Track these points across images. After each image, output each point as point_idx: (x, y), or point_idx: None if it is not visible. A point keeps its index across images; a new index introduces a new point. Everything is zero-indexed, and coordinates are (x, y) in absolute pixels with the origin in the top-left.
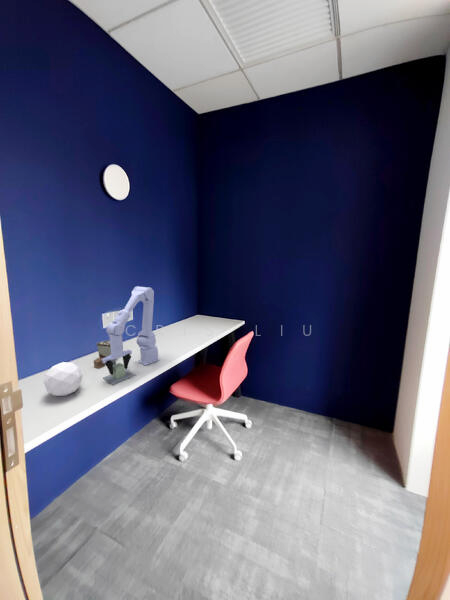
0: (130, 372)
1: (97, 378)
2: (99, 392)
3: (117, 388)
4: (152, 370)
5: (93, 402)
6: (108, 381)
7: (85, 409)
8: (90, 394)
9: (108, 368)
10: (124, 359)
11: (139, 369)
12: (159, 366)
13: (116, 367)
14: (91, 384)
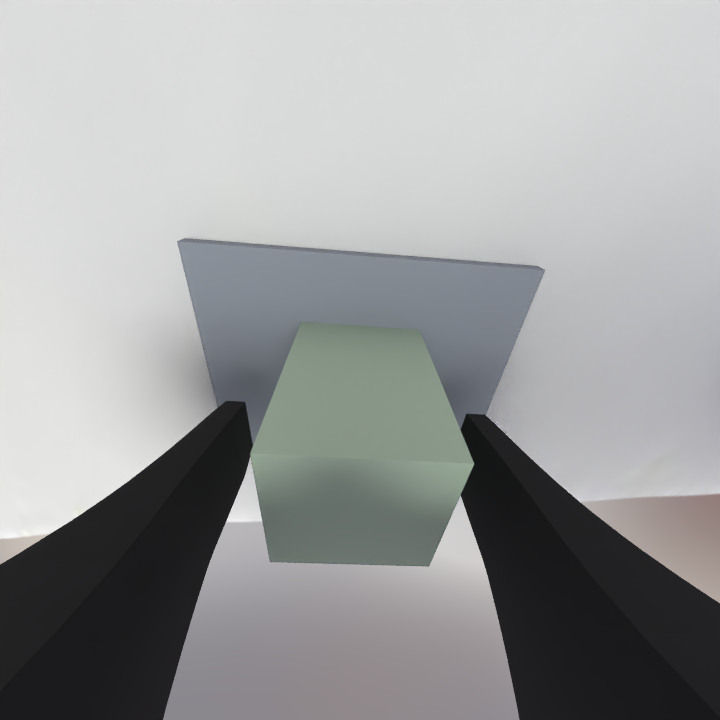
0: (489, 400)
1: (104, 153)
2: (104, 455)
3: (247, 495)
4: (612, 482)
5: (54, 513)
6: (213, 389)
7: (5, 531)
8: (22, 433)
9: (155, 479)
10: (552, 628)
11: (604, 393)
12: (711, 474)
13: (288, 553)
14: (11, 267)
